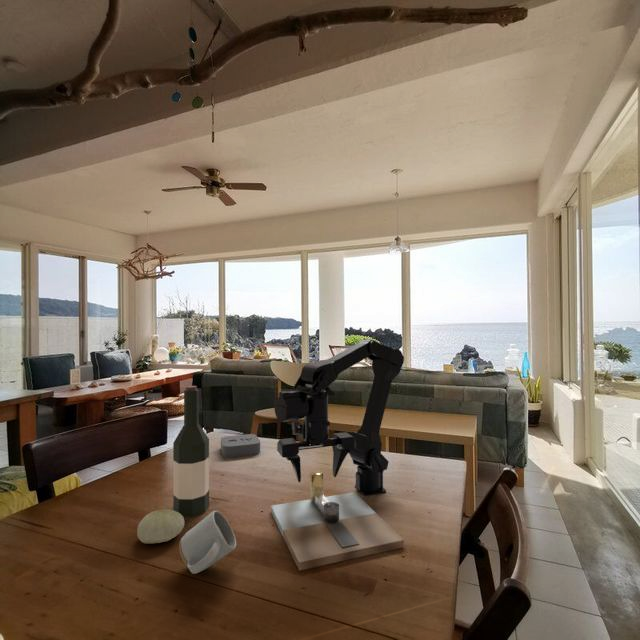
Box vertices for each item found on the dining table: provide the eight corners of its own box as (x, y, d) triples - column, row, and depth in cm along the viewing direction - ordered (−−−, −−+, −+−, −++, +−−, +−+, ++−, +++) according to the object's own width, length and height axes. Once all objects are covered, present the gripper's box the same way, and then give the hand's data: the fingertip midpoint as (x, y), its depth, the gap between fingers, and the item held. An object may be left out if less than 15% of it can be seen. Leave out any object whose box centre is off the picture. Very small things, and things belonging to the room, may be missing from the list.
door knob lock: (341, 521, 86) (341, 491, 86) (326, 524, 85) (326, 493, 85) (321, 496, 99) (321, 470, 99) (308, 498, 98) (308, 472, 98)
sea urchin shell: (171, 538, 78) (145, 508, 79) (148, 566, 79) (122, 536, 80) (195, 517, 87) (171, 490, 88) (174, 542, 88) (150, 515, 89)
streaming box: (223, 460, 131) (223, 447, 131) (220, 449, 143) (220, 436, 143) (261, 456, 136) (261, 443, 136) (255, 445, 148) (255, 433, 148)
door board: (354, 497, 102) (354, 491, 102) (403, 547, 80) (403, 538, 80) (270, 511, 95) (270, 504, 95) (299, 570, 72) (299, 561, 72)
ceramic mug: (203, 570, 75) (185, 532, 78) (240, 544, 76) (222, 507, 79) (181, 585, 65) (162, 541, 68) (225, 555, 66) (204, 512, 69)
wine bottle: (216, 505, 99) (216, 385, 99) (192, 520, 91) (192, 390, 91) (190, 499, 102) (190, 383, 102) (165, 513, 94) (165, 388, 95)
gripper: (339, 406, 108) (339, 463, 108) (272, 411, 101) (272, 472, 101) (356, 415, 97) (357, 478, 97) (282, 422, 91) (283, 489, 91)
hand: (317, 479), depth 97 cm, fingers open, 9 cm apart
